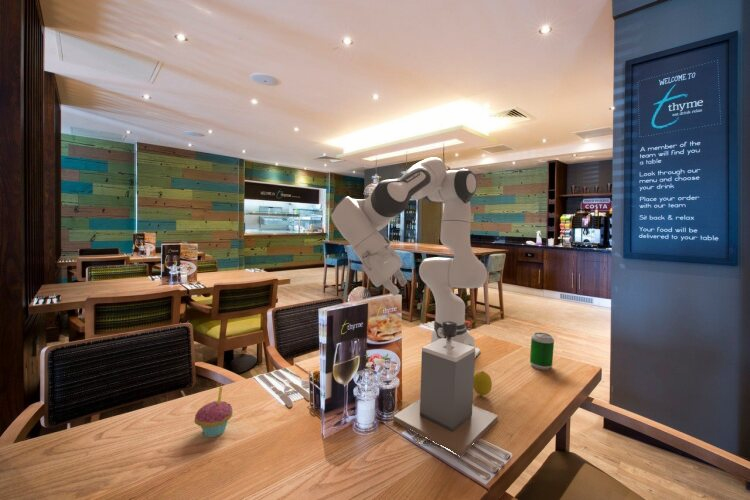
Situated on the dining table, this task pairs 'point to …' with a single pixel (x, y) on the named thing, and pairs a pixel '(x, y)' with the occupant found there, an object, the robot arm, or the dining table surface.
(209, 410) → the cupcake
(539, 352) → the soda can
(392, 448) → the dining table surface
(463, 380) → the press
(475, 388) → the lemon
